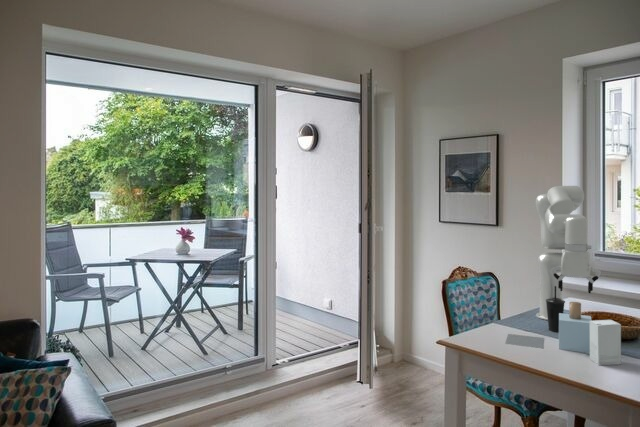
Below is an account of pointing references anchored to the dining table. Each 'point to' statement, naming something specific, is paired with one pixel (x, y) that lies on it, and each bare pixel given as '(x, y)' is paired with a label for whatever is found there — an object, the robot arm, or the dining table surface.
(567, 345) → the cover box
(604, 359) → the skincare box
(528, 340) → the mat
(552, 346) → the dining table surface
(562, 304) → the drinking cup
